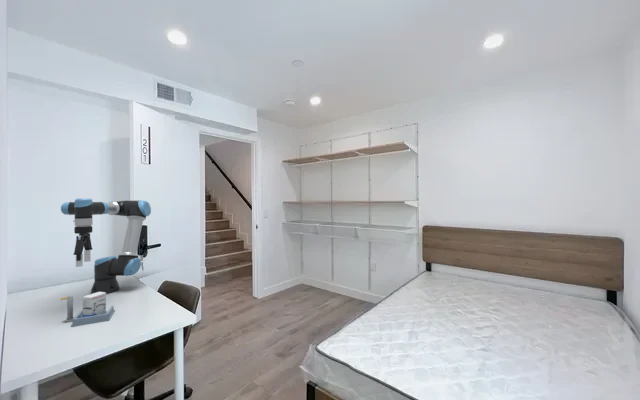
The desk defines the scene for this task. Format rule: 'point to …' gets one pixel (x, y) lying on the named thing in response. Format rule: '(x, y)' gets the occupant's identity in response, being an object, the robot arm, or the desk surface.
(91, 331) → the desk surface
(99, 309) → the ink box
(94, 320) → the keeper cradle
